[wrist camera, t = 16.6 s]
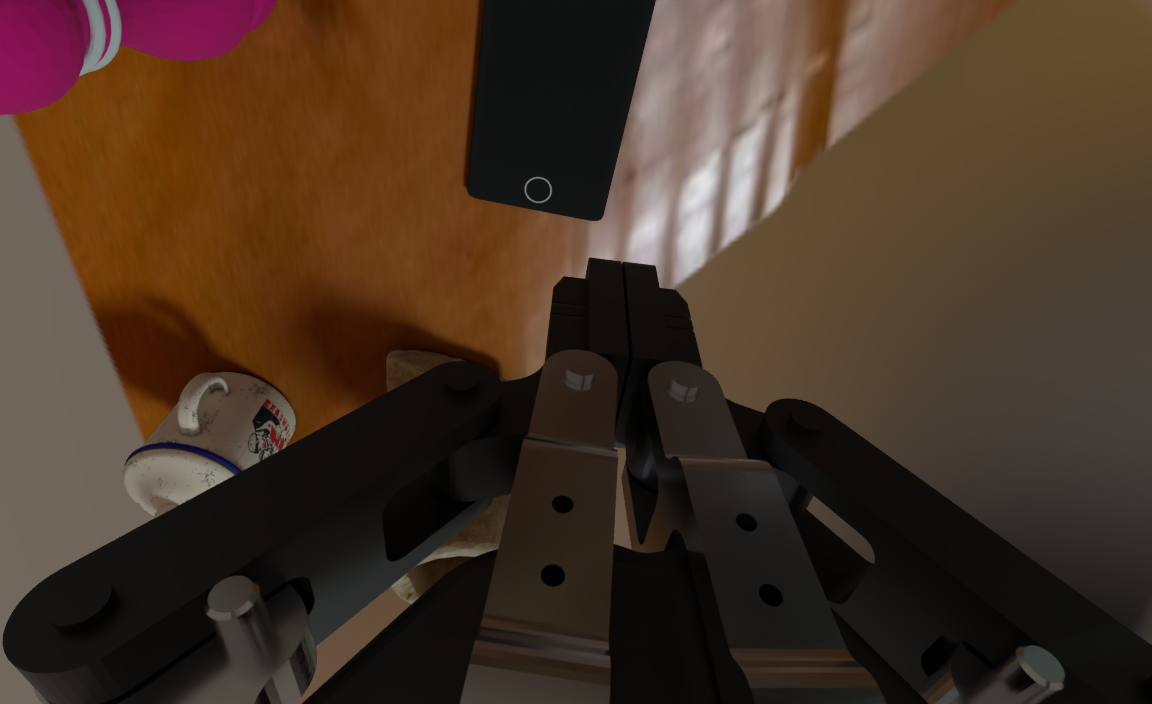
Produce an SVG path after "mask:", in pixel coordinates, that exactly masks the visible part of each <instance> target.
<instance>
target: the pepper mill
mask: <svg viewBox="0 0 1152 704" xmlns="http://www.w3.org/2000/svg"><path fill="white" fill-rule="evenodd" d="M275 1H276V0H0V115H6V114H18V113H24V112H29V111H32V110H36V109H39V108H42V107H45V106H48V105H50V104H51V103H53V102H55V101H57V100H59V99H60V98H62V97H63V96H64V95H65V94H66V93H67V92H68V91H69V90H70V89H71V87H72V86H73V85H74V84H75V83H76V82H77V80H78V78H79V76H81V75H83V74H85V73H87V72H91V71H96V70H98V69H100V68H102V67H104V66H105V65H106V64H108V63H109V62H110V61H111V60H112V59H113V57H114V56H115V55H116V53H117V51H118V49H119V45H120V46H126V47H129V48H132V49H135V50H138V51H140V52H143V53H146V54H149V55H153V56H156V57H159V58H166V59H173V60H183V61H196V60H201V59H207V58H213V57H216V56H220V55H223V54H225V53H227V52H228V51H230V50H232V49H233V48H234V47H235V46H236V45H238V44H239V43H240V42H241V41H242V39H243V38H244V37H245V35H246V34H247V32H249V31H251V30H253V29H255V28H257V27H259V26H260V25H261V24H262V23H263V22H264V21H265V20H266V19H267V18H268V17H269V15H270V14H271V12H272V10H273V7H274V4H275Z"/></svg>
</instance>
